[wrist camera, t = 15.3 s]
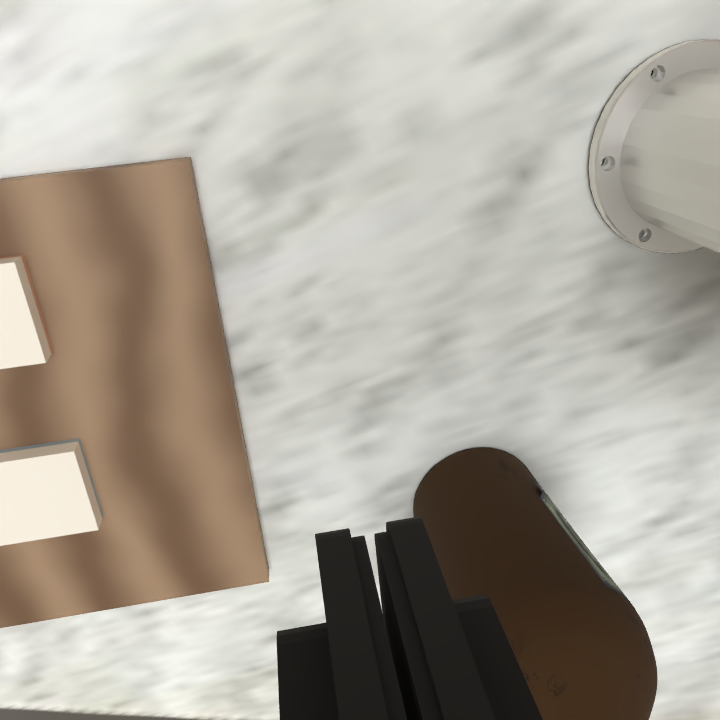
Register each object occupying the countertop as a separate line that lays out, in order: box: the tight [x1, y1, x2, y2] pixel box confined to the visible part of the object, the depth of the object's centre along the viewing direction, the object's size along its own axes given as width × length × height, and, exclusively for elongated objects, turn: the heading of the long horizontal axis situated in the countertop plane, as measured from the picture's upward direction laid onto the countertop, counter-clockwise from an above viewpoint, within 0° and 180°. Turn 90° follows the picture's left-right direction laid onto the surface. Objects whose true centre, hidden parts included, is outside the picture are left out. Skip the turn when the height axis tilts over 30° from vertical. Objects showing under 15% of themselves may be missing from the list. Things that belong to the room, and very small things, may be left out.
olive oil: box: [413, 448, 657, 720], centre depth 40 cm, size 11×11×25 cm
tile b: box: [0, 438, 103, 546], centre depth 44 cm, size 2×6×8 cm
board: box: [0, 157, 269, 628], centre depth 44 cm, size 24×30×2 cm
